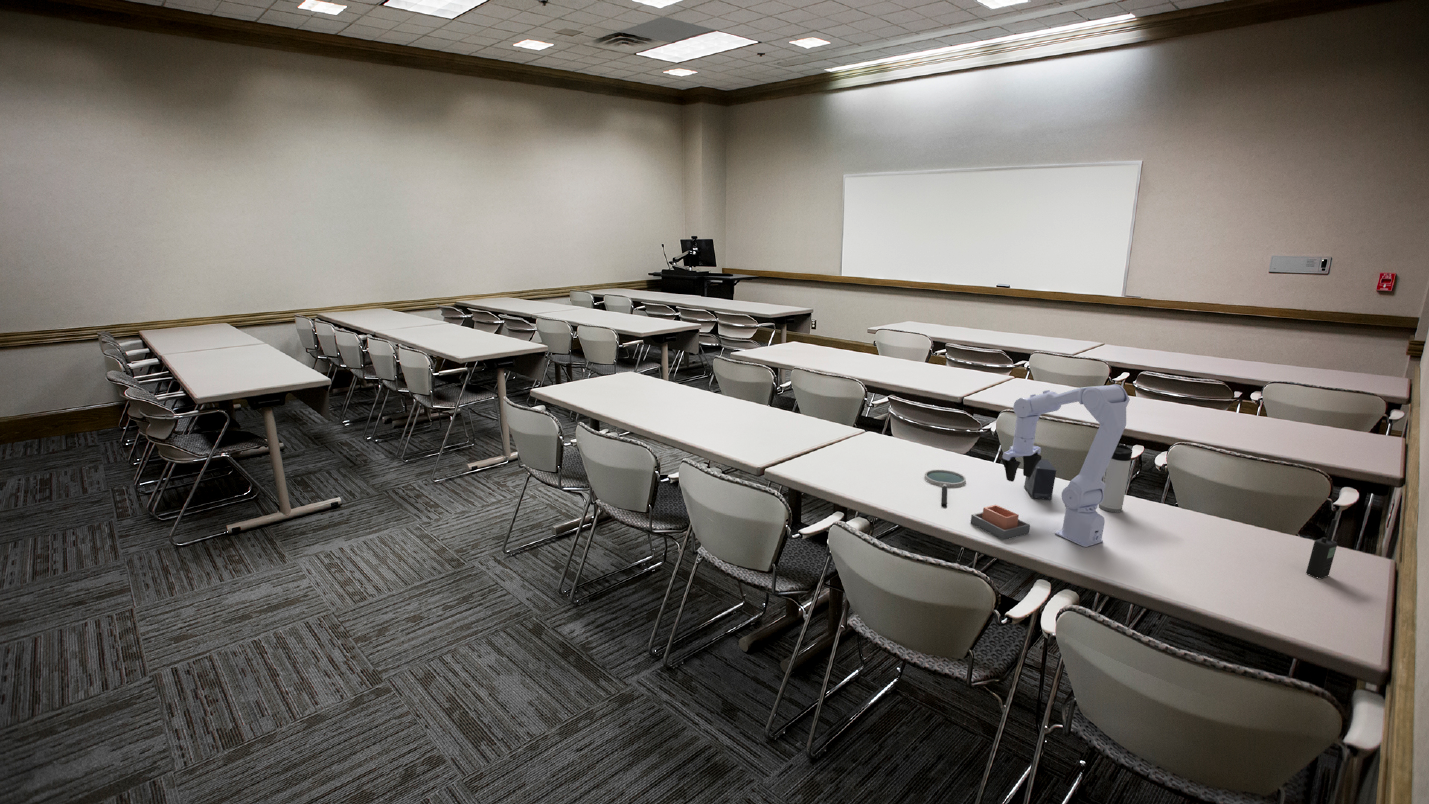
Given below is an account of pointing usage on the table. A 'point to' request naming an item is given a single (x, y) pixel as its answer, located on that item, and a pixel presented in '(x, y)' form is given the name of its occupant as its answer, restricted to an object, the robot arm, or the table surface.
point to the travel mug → (1116, 479)
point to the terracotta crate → (1000, 517)
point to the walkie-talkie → (1322, 555)
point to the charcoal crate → (998, 532)
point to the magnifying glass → (945, 481)
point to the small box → (1041, 480)
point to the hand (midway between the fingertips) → (1018, 478)
